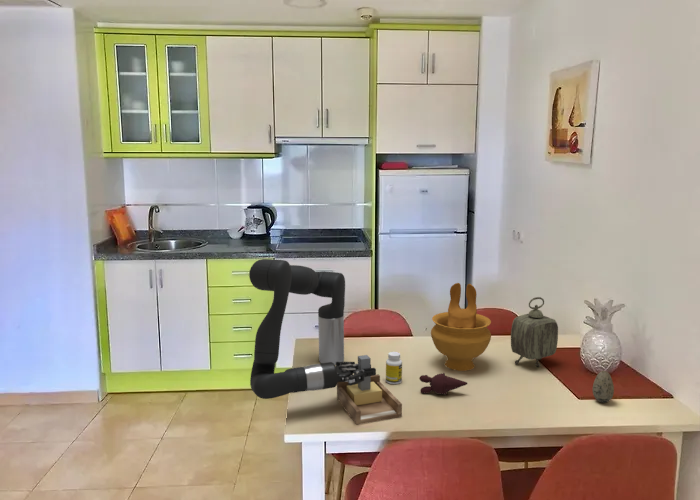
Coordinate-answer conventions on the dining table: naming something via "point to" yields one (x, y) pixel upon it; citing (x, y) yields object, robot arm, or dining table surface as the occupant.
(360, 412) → the bay
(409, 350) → the dining table surface
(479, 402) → the dining table surface
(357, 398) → the block with grey post
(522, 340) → the tabletop clock
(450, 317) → the decorative bowl
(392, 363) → the supplement bottle
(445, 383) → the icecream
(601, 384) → the decorative egg
